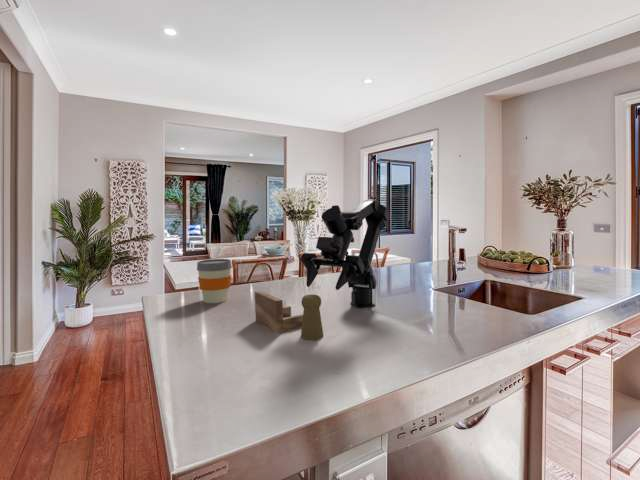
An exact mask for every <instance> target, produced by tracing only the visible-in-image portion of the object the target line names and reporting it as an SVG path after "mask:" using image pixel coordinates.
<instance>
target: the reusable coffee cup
mask: <svg viewBox="0 0 640 480" xmlns="http://www.w3.org/2000/svg"><path fill="white" fill-rule="evenodd" d="M231 269H232V261H231V259H230V258H229V259H226V258H212V259H204V260H199V261H197V263H196V270H197V272H198V277H197V278H198V284H199V289H200V290H201V293H202V298H203V303H205V304H220V303H221V304H222V303H225V302H226V301H229V292H230V288H231V283H232V274H231V272H232V271H231Z"/></svg>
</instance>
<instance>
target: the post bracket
mask: <svg viewBox="0 0 640 480" xmlns="http://www.w3.org/2000/svg"><path fill="white" fill-rule="evenodd" d="M254 303H255V304H254V306H255V307H254V308H255V309H254V310H255V321H256V322H257V323H259V324H261V325H262V326H263V327H265V328H267V329H269V330H270V331H271V332H273V333H274V334H281V333H284V331H287V330H290V329H295V328H298V327H302V321H303V313H301V314H296V315H293V316H292V306H291V305H287V306H284V304H283V299H281V298H279V297H277V296H275V295H271V294H269V293H268V292H265V291H262V290H258V291H257V290H256V291H254Z"/></svg>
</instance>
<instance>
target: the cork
mask: <svg viewBox="0 0 640 480" xmlns="http://www.w3.org/2000/svg"><path fill="white" fill-rule="evenodd" d="M321 304H322V298H321V297H320V295H318V294H306V295H304V296H303V297H302V299H301V306H302V308H303V313H302V314H303V321H302V326H301V331H300V337H301V339H303V340H306V341H317V340H318V341H319V340H321V339H323V338H324V331H323V330H324V329H323V323H322V322H323V321H322V317H321V316H322V315H321V310H320V307H321V306H322V305H321Z"/></svg>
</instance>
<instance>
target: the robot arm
mask: <svg viewBox="0 0 640 480" xmlns="http://www.w3.org/2000/svg"><path fill="white" fill-rule="evenodd" d="M390 217H391V214H390V211H389V210H388V208H387V207H386V206H384V205H382V204H381V203H379V201H378V200H376V199H364V200H362V203H360V204H359V205H356V207H353V209H351V210H346V211H345V210H344V211H342V210H341V208H340V206H339V205H331V207H330V208H328V209H325V211H324V212H322V215H321V220H322V221H323V223H324V225H325V227H326V228H327V231H328V233H329V234H332V237H330V236H319V237H317V240H316V246H315V248H316V249H317V250H320V255H321V257H318V256H317V255H316V253H312V252H304V253H302V254H301V256H300V257H299V260H300V262H301V263H302V265H303V266H304V268H305V269H306V287H308V288H309V287H311V285H312V283H314V281H315V279H316V278H317V275H318V274H319V270H320V268H321V266H327V267H332V268H333V267H334V268H341V271H340V274H339V277H338V279H337V281H336V285H335V290H336V291H339V290H340V289H341V288H343V287H344V285H345V284H347V285H348V288H352V289H351V293H350V294H351V296H350V297H351V298H350V299H351V301H350V305H352V306H354V307H356V308H358V309H359V308H360V309H361V308H366V307H367V308H368V307H373V306H376V303H374V302H373V290H376V289H377V279H376V277H375V275H374V270H373V267H372V261H373V258H374V254H375V250H376V246H377V243H378V240H379V236H380V233H381V231H383V230H384V229H385V228H386V227H387V225H388V222H389V221H390ZM363 220H365V222H366V225H367V227H366V231H365V234H364V238H363V241H362V243H361V247H360V250H359V254H358V255H355V254H354V255H352V254H351V255H349V252H348V249H349V247H350V244H351V243H354V242H355V238H354V234H353V232H352V231H358V230H359V229H361V227H362V226H363ZM322 257H323V258H322Z"/></svg>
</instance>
